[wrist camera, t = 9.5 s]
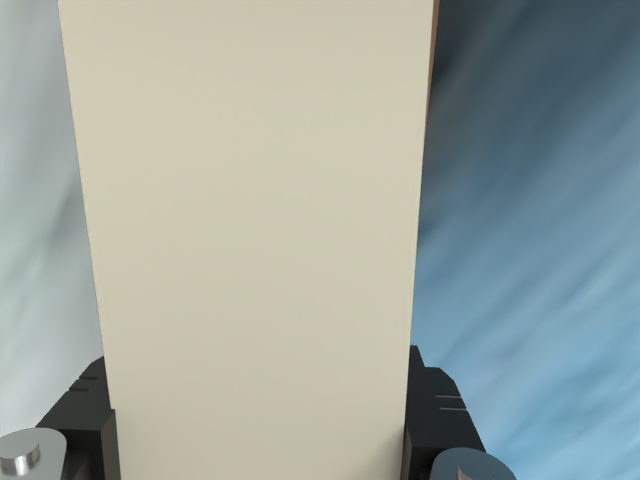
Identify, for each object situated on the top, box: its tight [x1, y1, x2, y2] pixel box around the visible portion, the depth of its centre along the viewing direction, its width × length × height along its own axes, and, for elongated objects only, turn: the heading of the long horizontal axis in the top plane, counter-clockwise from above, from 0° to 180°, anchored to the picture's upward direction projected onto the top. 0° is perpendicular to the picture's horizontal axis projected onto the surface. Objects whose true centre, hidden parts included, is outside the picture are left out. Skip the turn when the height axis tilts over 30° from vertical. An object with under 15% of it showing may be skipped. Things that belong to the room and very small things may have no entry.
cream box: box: [57, 0, 433, 480], centre depth 10 cm, size 12×5×4 cm, turn 179°
